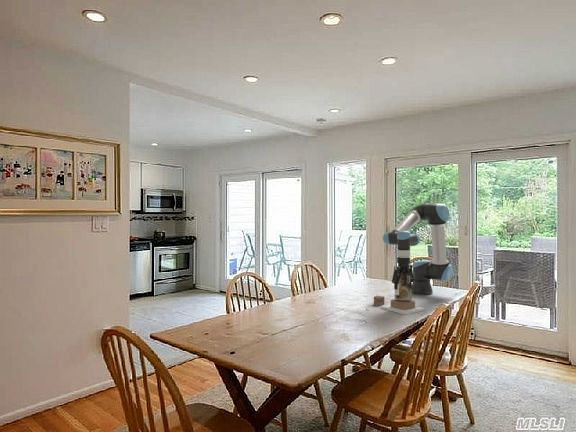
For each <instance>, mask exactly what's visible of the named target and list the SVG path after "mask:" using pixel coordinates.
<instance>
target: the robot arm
mask: <svg viewBox="0 0 576 432" xmlns="http://www.w3.org/2000/svg"><path fill="white" fill-rule="evenodd" d="M448 207H449V206H447V205H446V204H444V203H421V204H418V205H417V206H414V207H413V208H411V209H410V210H409V211H408V212H407V213H406V216H405V217H404V218H403V219H402V220H401V221H400V222H398V224H397V225H396V227H394V228H393V230H392V231H390V232H384V233H383V234H382V241H383V243H384V244H385V245H391V246H392V245H394V246H396V247H397V248H396V256H397V258H396V264H397V266H393V267H394V268H393V274H392V278H391V279H392V280H391V283H392V284H394V286H393V287H394V296H395V295H399V284H398V283H399V280H400V278H401V274H403V273H404V272H405V273H406V272H407V273H409V272H410V273H411V274H412V294H414V295H422V296H423V295H424V296H427V295H433V292H434V291H433V288H432V284H431V280H433V281H434V280H435V281H441V282H448V281H450V280H451V278H452V276H453V272H454V268H453V265H452V264H450V261H449V260H448V259H447V246H446V234H445V233H446V231H445V225H446V224H447V222H448V221H449V219H450V210H449V208H448ZM421 221H426V222H427V223H428V225H429V226H430V232H431V247H432V260H428V259H427V260H426V259H425V260H423V259H422V260H416V261H414V262H413V264H411V258H410V257H411V247H415V246H418V245H419V244H420V243H421V237H420V236H419V234H417V233H411V232H410V230H411V229H412V227H414V225H415V224H418V223H419V222H421ZM398 274H399V275H398ZM396 281H397V282H396Z"/></svg>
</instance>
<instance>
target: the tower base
mask: <svg viewBox="0 0 576 432" xmlns="http://www.w3.org/2000/svg"><path fill="white" fill-rule="evenodd" d="M380 308H381V309H383V310H387V311H390V312H394V313H398V314H402V315H405V316H406V315H410V314H414V313H420V312H423V311H424V312H425V311H426V308H425V307H422V306H421V307H420V306H417V305H416V301H415V300H412V301H409V300H396V299H395V298H394V299H391V300H390V304H384V305H382V306H380Z"/></svg>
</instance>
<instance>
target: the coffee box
mask: <svg viewBox="0 0 576 432" xmlns="http://www.w3.org/2000/svg"><path fill="white" fill-rule="evenodd" d="M398 275H399V274H398ZM396 282H397V281H396ZM412 283H413V282H412V274H411V273H410V272H409V273H407V272H406V273H405V272H404V273H403V274H401V278H400V280H399V283H398V284H399V295H395V294H394V299H396V300H409V301H413V298H412V297H413V293H412Z"/></svg>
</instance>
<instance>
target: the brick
mask: <svg viewBox="0 0 576 432" xmlns="http://www.w3.org/2000/svg"><path fill="white" fill-rule="evenodd" d="M373 305H375V306H379V305H380V306H379V307H381V306H384V305H385V296H382V295H375V296H373Z"/></svg>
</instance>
